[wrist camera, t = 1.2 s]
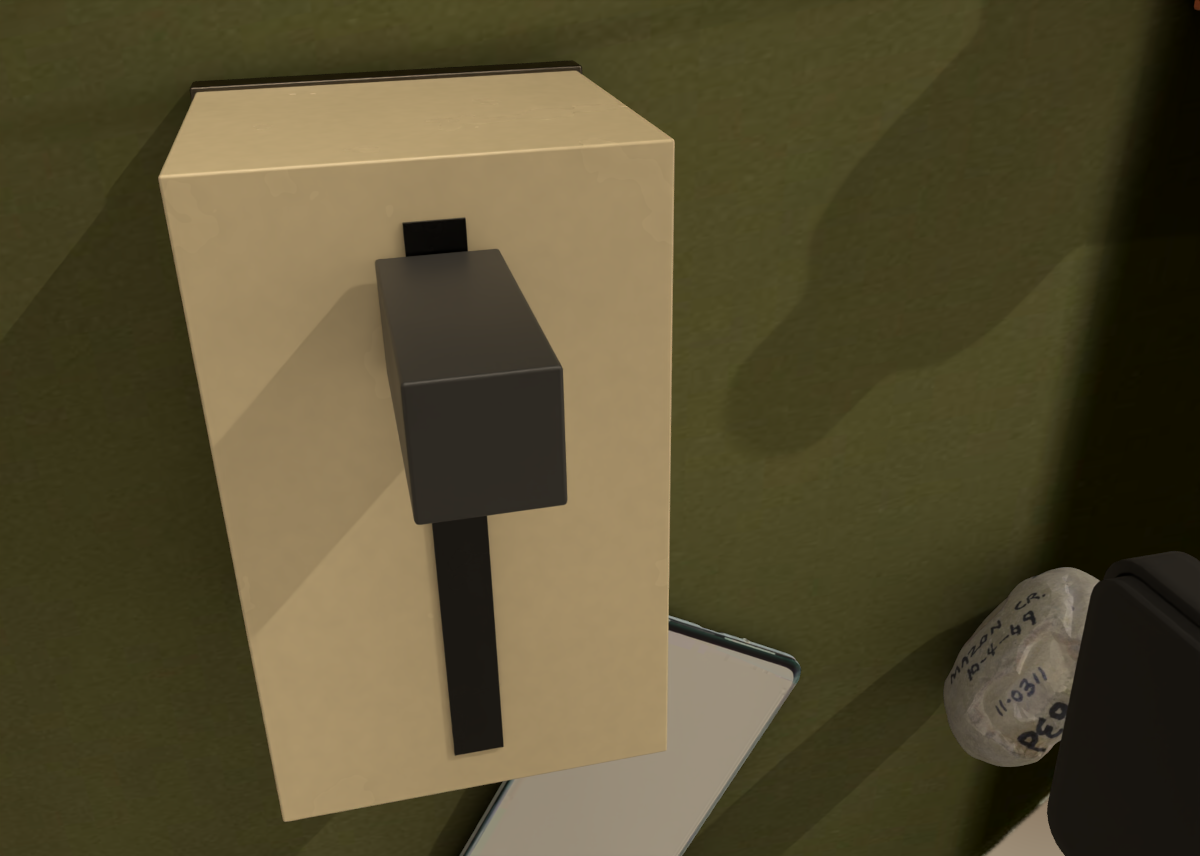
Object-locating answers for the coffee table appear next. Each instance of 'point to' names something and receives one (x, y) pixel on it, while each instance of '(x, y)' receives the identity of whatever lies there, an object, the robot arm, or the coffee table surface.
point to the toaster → (369, 431)
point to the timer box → (1197, 5)
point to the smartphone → (651, 762)
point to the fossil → (1020, 670)
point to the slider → (471, 387)
